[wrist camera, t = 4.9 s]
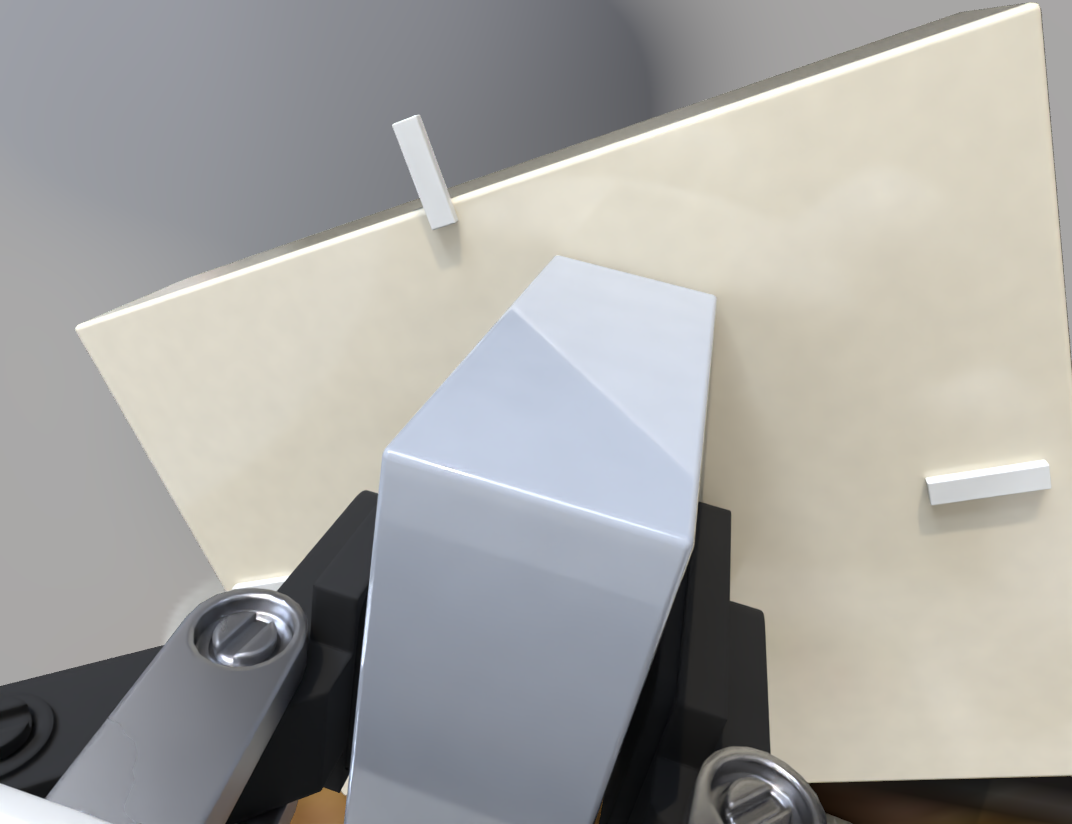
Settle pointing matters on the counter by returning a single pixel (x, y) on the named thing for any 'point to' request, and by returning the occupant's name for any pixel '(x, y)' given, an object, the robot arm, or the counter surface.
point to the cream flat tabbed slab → (720, 377)
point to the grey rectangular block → (531, 554)
